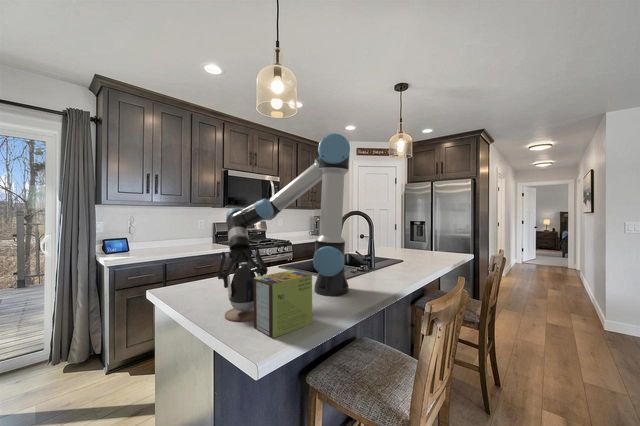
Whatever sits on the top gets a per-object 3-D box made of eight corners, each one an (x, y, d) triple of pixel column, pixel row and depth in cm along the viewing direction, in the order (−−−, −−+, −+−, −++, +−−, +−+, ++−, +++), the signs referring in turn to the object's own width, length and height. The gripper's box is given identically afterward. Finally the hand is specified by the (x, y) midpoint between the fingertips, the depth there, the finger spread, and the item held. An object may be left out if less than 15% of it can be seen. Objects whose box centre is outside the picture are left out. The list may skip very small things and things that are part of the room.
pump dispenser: (252, 315, 89) (252, 268, 89) (223, 312, 91) (222, 266, 91) (265, 304, 99) (264, 262, 99) (238, 302, 101) (237, 261, 101)
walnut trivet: (264, 306, 103) (264, 305, 103) (263, 320, 90) (263, 318, 90) (228, 308, 101) (228, 307, 101) (221, 323, 88) (221, 321, 88)
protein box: (313, 323, 88) (312, 274, 88) (272, 339, 77) (272, 283, 77) (292, 314, 95) (292, 269, 95) (252, 328, 84) (252, 277, 84)
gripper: (266, 245, 114) (276, 295, 100) (207, 249, 105) (210, 303, 90) (269, 234, 109) (280, 283, 95) (208, 236, 100) (210, 292, 85)
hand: (246, 293), depth 93 cm, fingers closed on pump dispenser, 10 cm apart
